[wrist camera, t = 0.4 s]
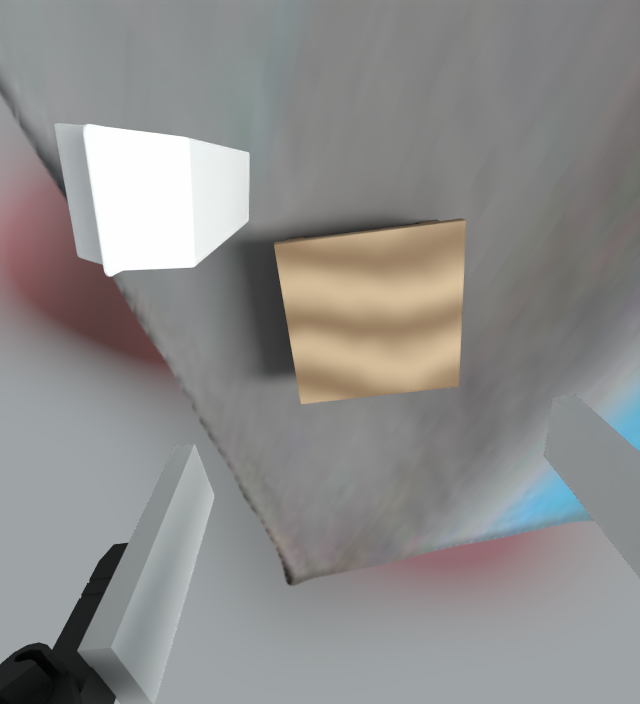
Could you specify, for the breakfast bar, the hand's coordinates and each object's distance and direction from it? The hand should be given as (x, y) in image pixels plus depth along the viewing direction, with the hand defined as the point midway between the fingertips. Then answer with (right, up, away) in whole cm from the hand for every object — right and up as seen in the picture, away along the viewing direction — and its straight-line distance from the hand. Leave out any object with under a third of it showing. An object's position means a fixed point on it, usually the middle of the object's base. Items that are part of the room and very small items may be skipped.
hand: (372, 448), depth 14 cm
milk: (-12, +19, +21) cm, 31 cm away
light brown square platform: (+3, +9, +26) cm, 28 cm away
